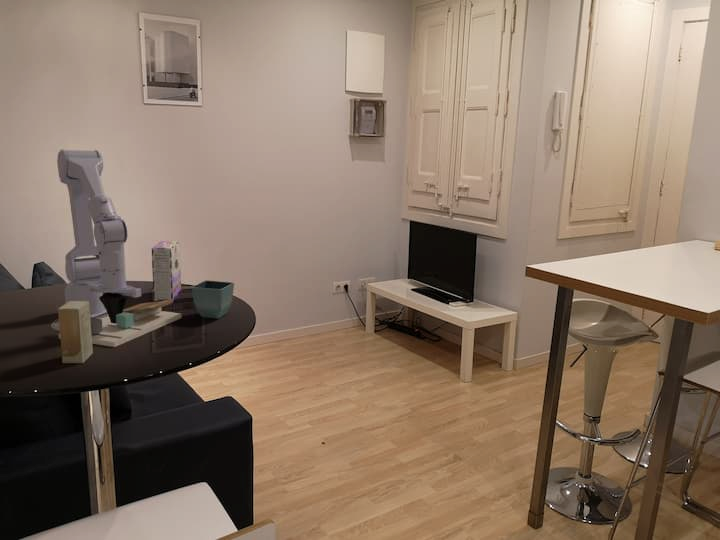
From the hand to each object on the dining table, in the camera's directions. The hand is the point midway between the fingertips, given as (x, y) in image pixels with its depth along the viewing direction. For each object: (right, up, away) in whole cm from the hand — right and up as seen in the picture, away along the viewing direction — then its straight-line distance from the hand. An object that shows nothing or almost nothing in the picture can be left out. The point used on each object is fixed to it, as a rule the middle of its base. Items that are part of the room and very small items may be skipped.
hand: (115, 322), depth 145 cm
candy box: (+1, +5, +36) cm, 37 cm away
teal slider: (+3, -1, -1) cm, 3 cm away
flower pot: (+21, 0, +16) cm, 26 cm away
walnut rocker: (+4, +3, +9) cm, 10 cm away
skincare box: (0, -6, -19) cm, 20 cm away
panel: (+1, -2, +3) cm, 4 cm away
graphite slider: (-3, -2, -6) cm, 7 cm away
